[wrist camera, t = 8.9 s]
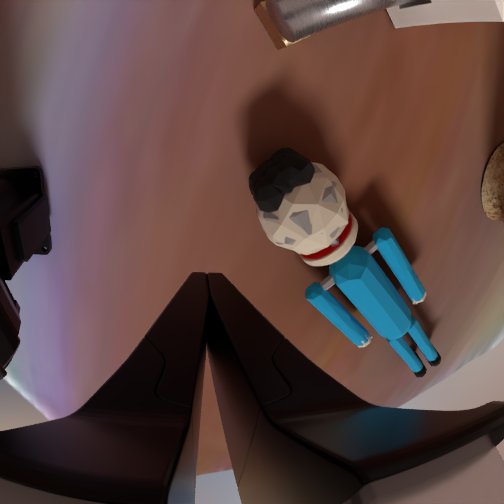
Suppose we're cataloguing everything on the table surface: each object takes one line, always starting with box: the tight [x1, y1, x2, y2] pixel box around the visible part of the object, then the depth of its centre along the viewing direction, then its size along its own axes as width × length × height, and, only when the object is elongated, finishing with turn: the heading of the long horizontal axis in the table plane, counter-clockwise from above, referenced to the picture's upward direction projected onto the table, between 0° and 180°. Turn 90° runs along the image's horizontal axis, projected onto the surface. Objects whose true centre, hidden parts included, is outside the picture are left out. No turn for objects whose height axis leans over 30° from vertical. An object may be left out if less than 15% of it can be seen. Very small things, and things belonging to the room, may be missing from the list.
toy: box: [249, 148, 441, 377], centre depth 25 cm, size 8×6×30 cm
